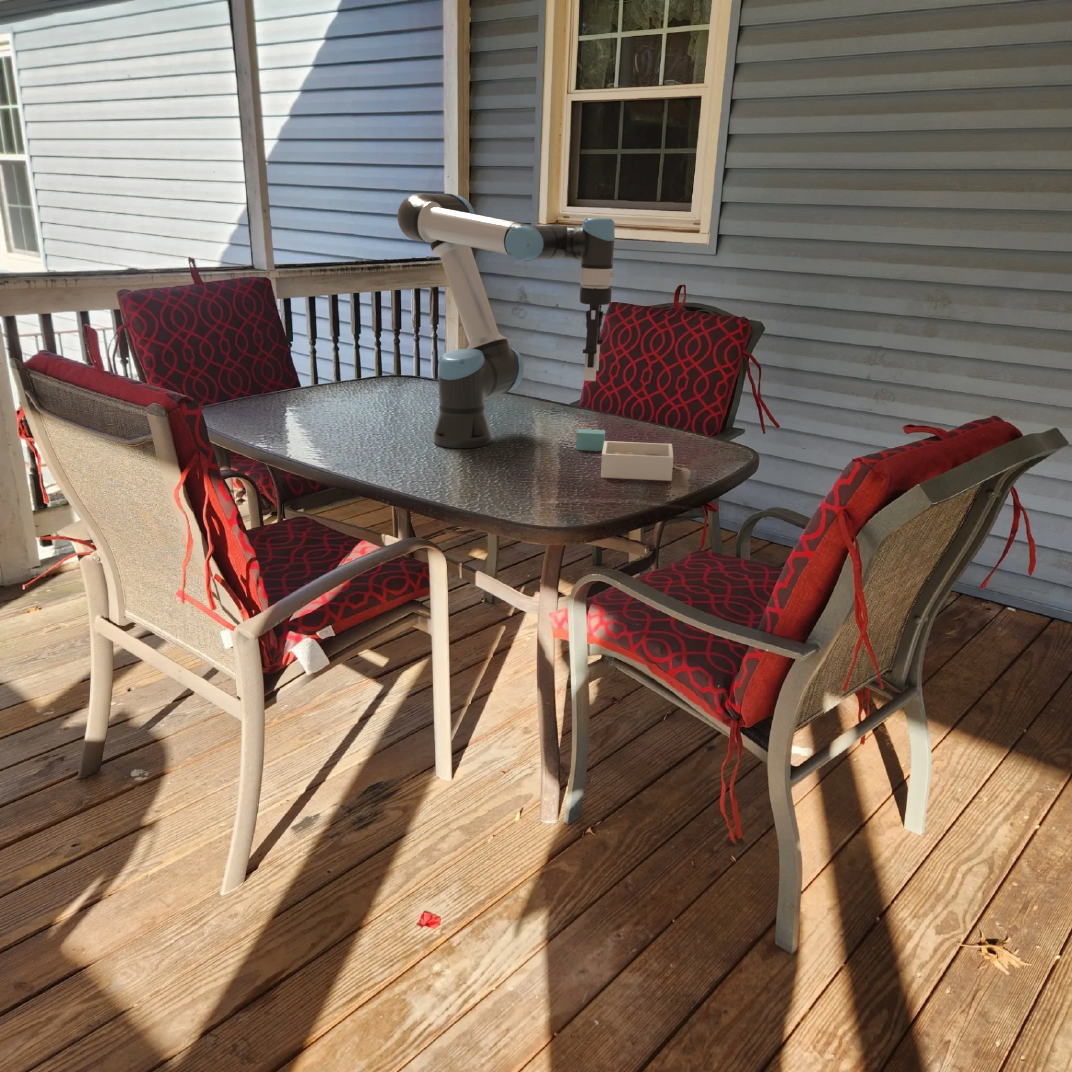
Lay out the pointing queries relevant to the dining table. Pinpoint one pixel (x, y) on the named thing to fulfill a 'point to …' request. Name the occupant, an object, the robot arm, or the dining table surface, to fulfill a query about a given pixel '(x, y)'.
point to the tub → (637, 461)
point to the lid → (590, 439)
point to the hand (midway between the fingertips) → (591, 375)
